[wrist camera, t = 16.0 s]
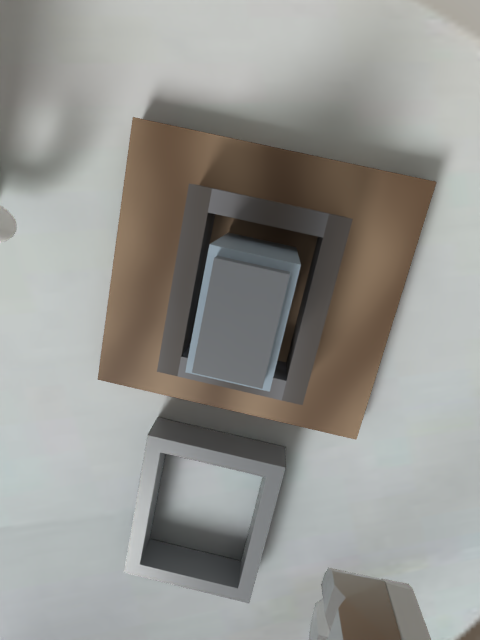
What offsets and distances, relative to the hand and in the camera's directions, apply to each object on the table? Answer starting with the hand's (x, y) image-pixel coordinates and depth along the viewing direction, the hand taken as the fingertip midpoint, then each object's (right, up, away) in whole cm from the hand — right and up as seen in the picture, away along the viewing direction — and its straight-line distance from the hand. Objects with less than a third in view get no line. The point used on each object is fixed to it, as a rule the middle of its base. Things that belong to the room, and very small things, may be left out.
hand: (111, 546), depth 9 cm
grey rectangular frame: (0, -9, +24) cm, 26 cm away
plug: (+3, +6, +19) cm, 20 cm away
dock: (+3, +6, +20) cm, 21 cm away
